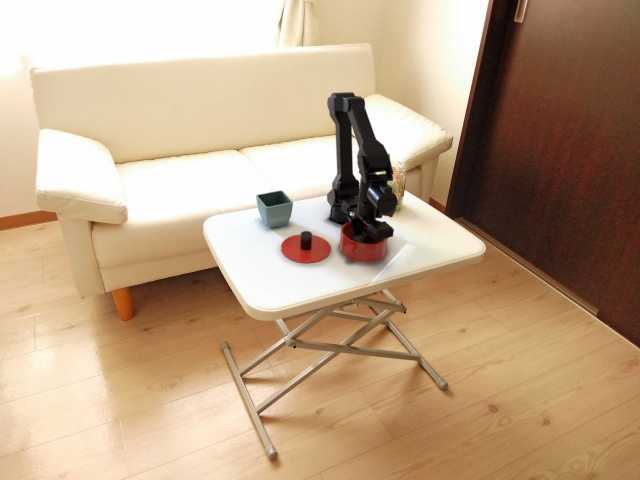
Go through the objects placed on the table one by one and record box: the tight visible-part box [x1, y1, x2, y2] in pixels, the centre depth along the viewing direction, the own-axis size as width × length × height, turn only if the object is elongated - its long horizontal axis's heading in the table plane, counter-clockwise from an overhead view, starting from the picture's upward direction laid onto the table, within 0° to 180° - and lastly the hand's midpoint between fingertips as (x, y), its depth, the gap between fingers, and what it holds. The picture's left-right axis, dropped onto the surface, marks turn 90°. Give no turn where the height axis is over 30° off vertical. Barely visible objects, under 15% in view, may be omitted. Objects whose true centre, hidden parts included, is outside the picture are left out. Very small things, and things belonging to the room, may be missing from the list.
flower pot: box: [255, 189, 294, 229], centre depth 138 cm, size 9×9×9 cm
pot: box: [338, 219, 389, 264], centre depth 129 cm, size 13×19×6 cm
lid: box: [280, 230, 332, 264], centre depth 128 cm, size 14×14×6 cm
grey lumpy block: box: [352, 234, 377, 243], centre depth 129 cm, size 7×4×4 cm, turn 117°
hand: (363, 243), depth 130 cm, fingers closed on grey lumpy block, 4 cm apart
